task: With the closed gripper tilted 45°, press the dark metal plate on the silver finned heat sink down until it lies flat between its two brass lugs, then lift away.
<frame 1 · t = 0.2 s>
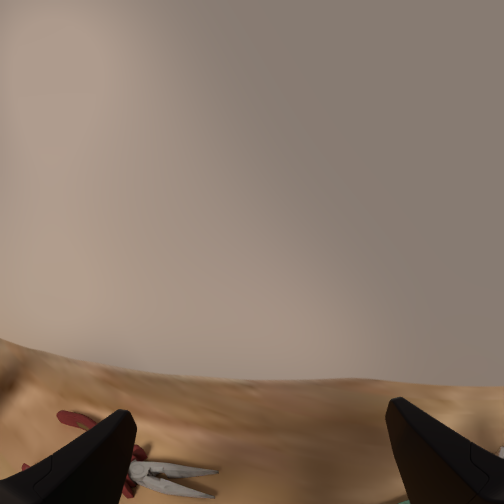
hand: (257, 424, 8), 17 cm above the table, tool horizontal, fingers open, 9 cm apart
pliers: (105, 481, 18), on the table
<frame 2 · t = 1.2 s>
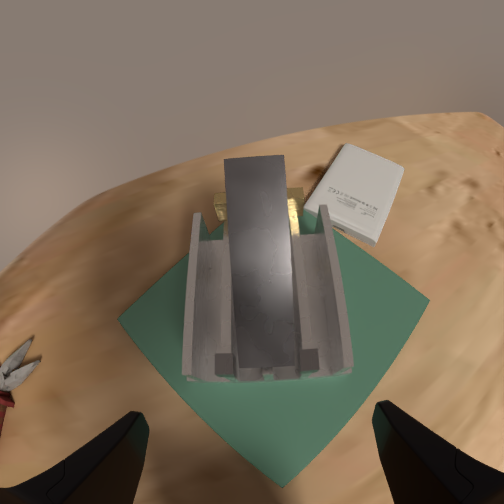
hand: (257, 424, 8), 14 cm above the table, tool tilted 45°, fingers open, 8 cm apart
external hard drive: (357, 194, 31), on the table
green square mat: (275, 320, 24), on the table
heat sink: (266, 309, 23), resting on green square mat
pliers: (1, 409, 20), on the table
dark metal plate: (261, 265, 15), point 10 cm above the table, hinge at 35.0°
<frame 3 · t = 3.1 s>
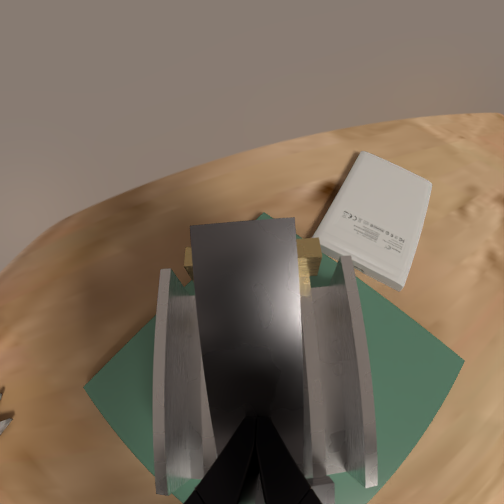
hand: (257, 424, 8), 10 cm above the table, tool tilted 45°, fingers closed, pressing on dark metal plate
external hard drive: (377, 218, 24), on the table
green square mat: (276, 397, 17), on the table
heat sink: (264, 387, 17), resting on green square mat
dark metal plate: (255, 394, 9), point 10 cm above the table, hinge at 29.8°, touching gripper
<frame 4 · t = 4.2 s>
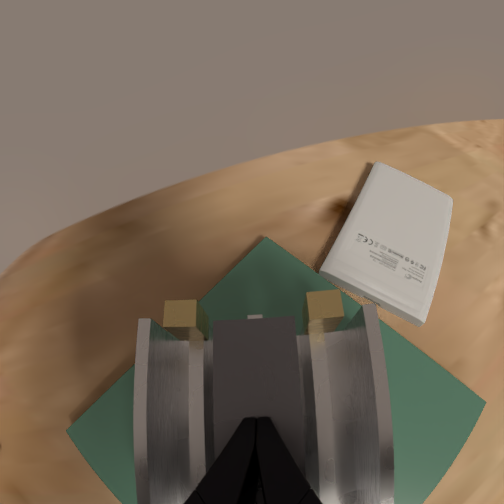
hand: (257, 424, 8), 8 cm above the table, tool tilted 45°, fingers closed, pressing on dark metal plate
external hard drive: (394, 240, 21), on the table
green square mat: (279, 452, 14), on the table
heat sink: (266, 444, 13), resting on green square mat
dark metal plate: (260, 465, 8), point 7 cm above the table, hinge at -0.8°, touching gripper
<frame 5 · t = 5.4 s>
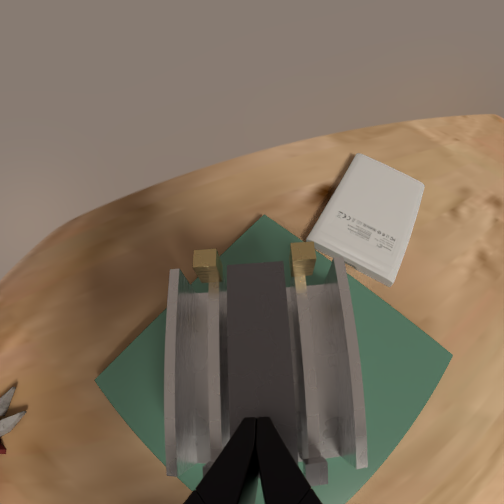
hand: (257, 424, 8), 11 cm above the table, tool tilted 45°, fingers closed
external hard drive: (370, 217, 26), on the table
green square mat: (275, 387, 19), on the table
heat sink: (265, 377, 18), resting on green square mat
dark metal plate: (260, 368, 13), point 7 cm above the table, hinge at -0.9°
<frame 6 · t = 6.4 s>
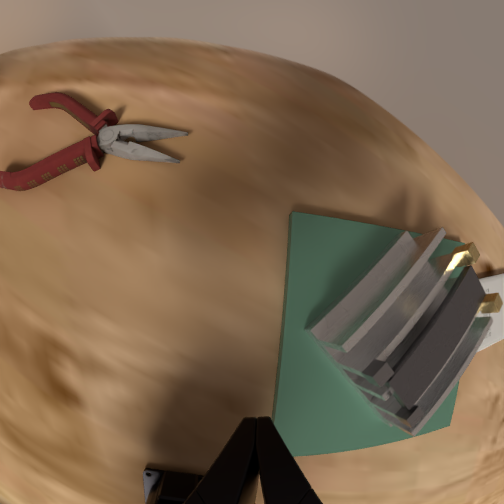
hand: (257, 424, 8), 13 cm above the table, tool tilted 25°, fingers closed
external hard drive: (489, 309, 26), on the table
green square mat: (388, 341, 23), on the table
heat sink: (395, 330, 22), resting on green square mat
pliers: (73, 158, 23), on the table
dark metal plate: (443, 333, 16), point 7 cm above the table, hinge at -0.9°
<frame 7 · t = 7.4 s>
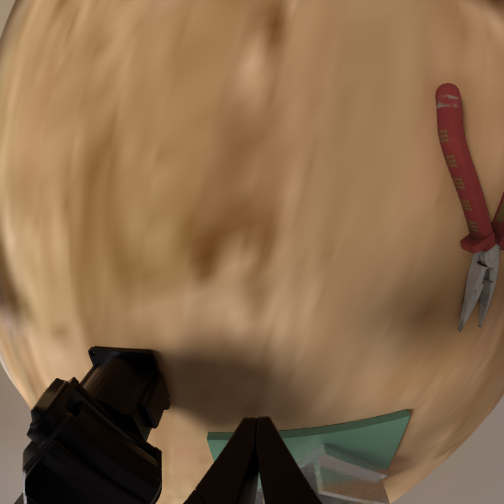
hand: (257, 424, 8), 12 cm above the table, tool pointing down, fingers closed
green square mat: (307, 475, 26), on the table
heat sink: (317, 480, 25), resting on green square mat
pliers: (470, 199, 18), on the table
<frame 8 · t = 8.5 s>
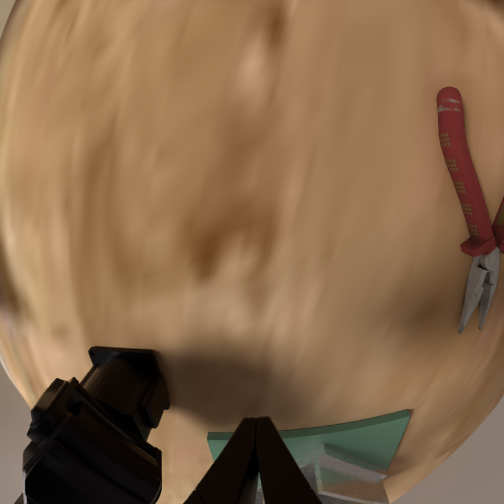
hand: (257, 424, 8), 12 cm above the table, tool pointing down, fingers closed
green square mat: (307, 475, 26), on the table
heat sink: (317, 480, 25), resting on green square mat
pliers: (470, 203, 18), on the table
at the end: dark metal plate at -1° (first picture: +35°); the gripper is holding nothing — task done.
